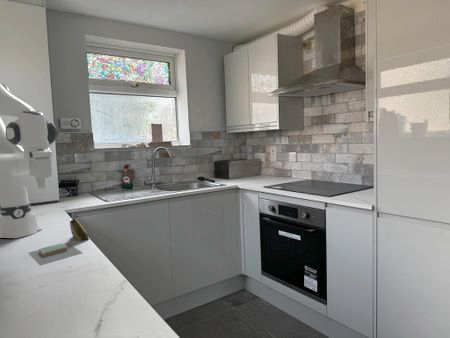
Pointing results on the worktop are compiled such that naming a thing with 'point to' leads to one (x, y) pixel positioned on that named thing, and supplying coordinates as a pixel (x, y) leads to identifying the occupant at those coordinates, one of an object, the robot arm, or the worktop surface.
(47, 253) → the coaster
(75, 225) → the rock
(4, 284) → the worktop surface
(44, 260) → the mat
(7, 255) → the worktop surface
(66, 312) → the worktop surface
